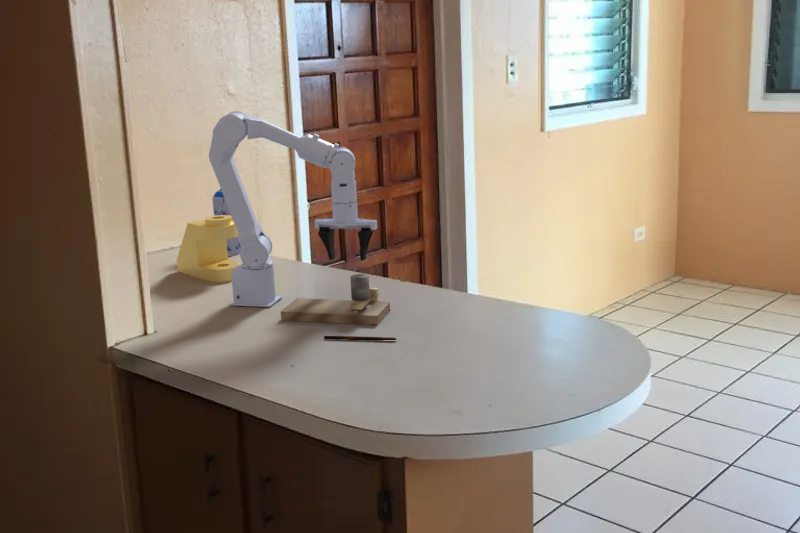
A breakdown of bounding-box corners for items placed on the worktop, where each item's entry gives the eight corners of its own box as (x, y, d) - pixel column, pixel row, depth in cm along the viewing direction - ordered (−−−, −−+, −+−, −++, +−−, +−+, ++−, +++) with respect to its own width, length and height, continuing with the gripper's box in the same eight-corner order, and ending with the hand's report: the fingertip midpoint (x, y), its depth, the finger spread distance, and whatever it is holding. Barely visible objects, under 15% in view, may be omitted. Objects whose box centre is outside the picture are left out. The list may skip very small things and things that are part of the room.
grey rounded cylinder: (345, 316, 185) (343, 280, 183) (357, 303, 194) (356, 269, 192) (367, 317, 184) (366, 281, 182) (379, 304, 192) (377, 270, 190)
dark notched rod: (323, 340, 174) (323, 336, 173) (323, 340, 174) (323, 335, 174) (395, 342, 171) (395, 338, 171) (396, 342, 171) (395, 337, 171)
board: (281, 320, 187) (280, 311, 186) (297, 306, 196) (297, 297, 196) (377, 324, 181) (377, 315, 181) (390, 310, 191) (389, 301, 190)
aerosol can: (248, 249, 253) (242, 182, 247) (238, 256, 245) (232, 187, 240) (223, 249, 254) (216, 182, 249) (212, 255, 247) (206, 187, 242)
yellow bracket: (248, 276, 223) (243, 216, 219) (218, 284, 217) (212, 222, 213) (207, 264, 237) (202, 208, 233) (178, 271, 231) (171, 213, 227)
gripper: (308, 204, 193) (312, 262, 197) (370, 205, 190) (372, 264, 193) (319, 198, 200) (322, 255, 203) (378, 199, 196) (381, 256, 200)
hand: (347, 259), depth 199 cm, fingers open, 7 cm apart
